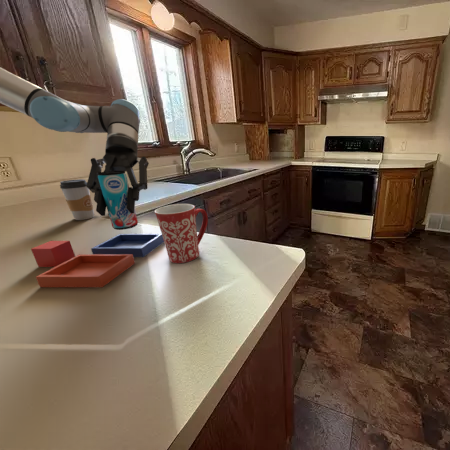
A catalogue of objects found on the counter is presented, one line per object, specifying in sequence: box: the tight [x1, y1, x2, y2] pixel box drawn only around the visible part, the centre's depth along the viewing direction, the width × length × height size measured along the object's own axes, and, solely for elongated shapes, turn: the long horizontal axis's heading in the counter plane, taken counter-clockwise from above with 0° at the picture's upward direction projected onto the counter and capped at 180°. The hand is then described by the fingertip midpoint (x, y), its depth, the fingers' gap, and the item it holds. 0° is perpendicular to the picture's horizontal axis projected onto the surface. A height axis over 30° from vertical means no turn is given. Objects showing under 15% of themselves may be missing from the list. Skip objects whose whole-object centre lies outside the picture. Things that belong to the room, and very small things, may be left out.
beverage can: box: [97, 171, 139, 231], centre depth 65 cm, size 6×6×15 cm
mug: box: [154, 203, 209, 264], centre depth 64 cm, size 13×9×14 cm
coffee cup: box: [59, 178, 95, 221], centre depth 97 cm, size 8×8×15 cm
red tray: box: [35, 253, 136, 288], centre depth 56 cm, size 14×11×3 cm
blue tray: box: [90, 233, 164, 258], centre depth 70 cm, size 14×11×3 cm
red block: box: [30, 240, 76, 268], centre depth 62 cm, size 5×5×5 cm
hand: (115, 211), depth 63 cm, fingers closed on beverage can, 6 cm apart
